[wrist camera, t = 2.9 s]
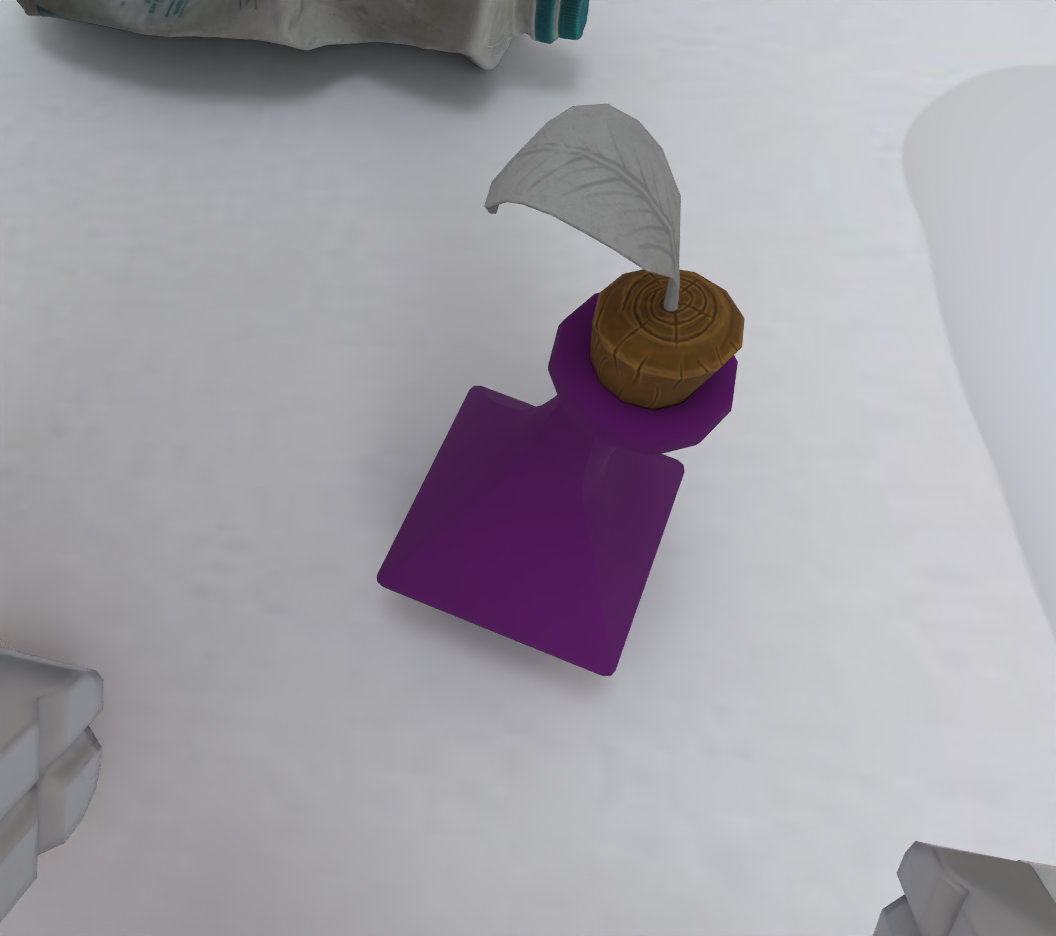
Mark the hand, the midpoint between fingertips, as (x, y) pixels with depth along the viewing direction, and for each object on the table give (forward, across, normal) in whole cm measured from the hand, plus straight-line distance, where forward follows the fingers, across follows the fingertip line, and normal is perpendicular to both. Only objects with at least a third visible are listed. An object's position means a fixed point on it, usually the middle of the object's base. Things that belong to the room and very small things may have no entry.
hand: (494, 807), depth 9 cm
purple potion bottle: (+21, 0, -7) cm, 22 cm away
